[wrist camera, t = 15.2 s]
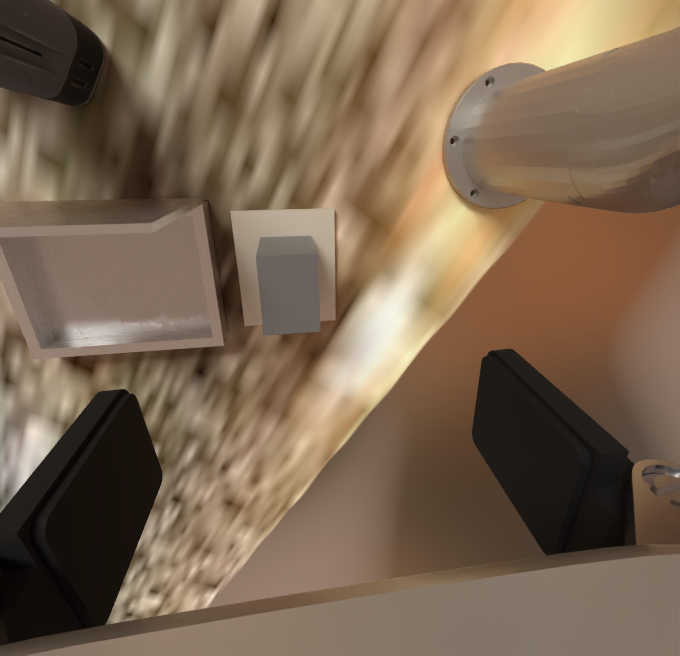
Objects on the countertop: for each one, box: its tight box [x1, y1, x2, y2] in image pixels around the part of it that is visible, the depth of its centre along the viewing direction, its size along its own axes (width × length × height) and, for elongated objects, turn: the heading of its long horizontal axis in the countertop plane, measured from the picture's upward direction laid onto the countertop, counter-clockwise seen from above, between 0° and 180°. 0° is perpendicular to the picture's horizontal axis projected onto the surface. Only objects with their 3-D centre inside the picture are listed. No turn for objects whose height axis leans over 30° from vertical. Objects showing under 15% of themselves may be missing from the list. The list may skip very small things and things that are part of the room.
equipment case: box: [0, 198, 228, 359], centre depth 29 cm, size 18×14×17 cm
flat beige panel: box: [231, 208, 336, 326], centre depth 39 cm, size 10×12×1 cm
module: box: [256, 236, 320, 335], centre depth 35 cm, size 5×7×8 cm
